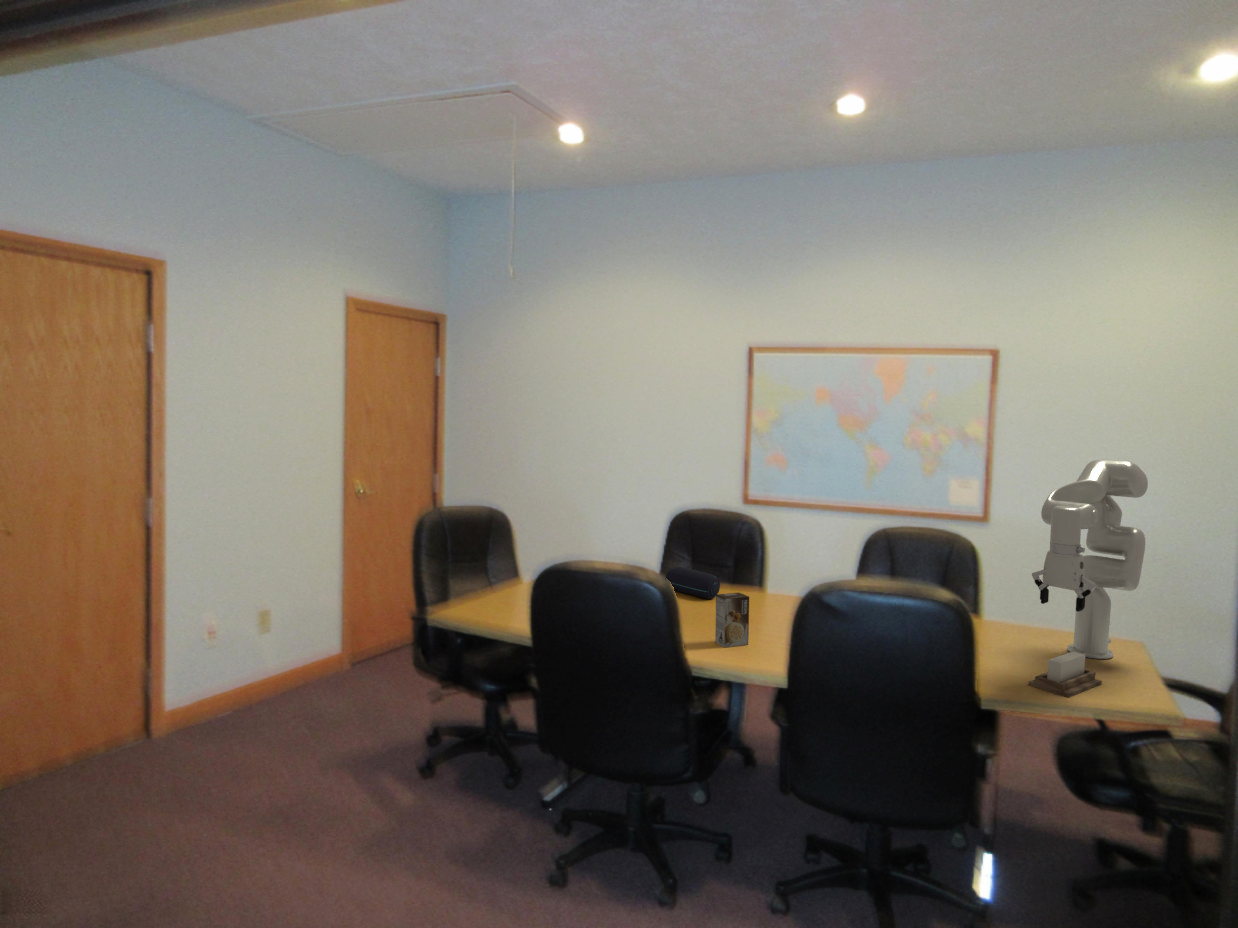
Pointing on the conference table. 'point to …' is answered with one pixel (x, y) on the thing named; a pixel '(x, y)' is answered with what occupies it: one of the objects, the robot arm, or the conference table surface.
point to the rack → (1067, 684)
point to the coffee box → (732, 619)
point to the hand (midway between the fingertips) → (1061, 606)
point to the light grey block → (1066, 667)
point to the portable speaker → (694, 582)
